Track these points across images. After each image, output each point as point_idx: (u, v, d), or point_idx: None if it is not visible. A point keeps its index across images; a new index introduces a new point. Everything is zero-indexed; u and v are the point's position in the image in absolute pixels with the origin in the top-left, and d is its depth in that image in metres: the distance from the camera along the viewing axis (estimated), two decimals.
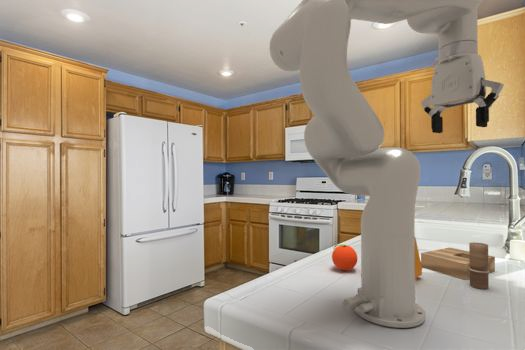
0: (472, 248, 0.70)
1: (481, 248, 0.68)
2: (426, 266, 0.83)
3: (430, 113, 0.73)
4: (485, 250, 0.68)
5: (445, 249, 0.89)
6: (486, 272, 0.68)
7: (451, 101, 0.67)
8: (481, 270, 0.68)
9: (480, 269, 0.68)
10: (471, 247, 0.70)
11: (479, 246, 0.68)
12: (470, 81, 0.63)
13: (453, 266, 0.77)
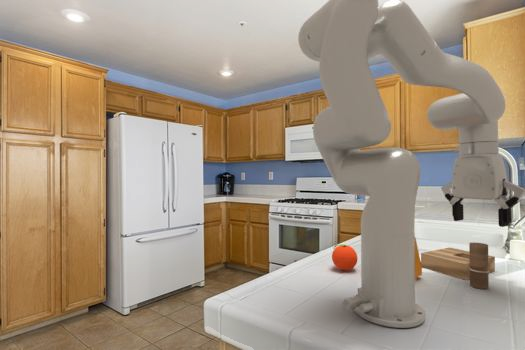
0: (472, 248, 0.70)
1: (481, 248, 0.68)
2: (426, 266, 0.83)
3: (451, 201, 0.75)
4: (485, 250, 0.68)
5: (445, 249, 0.89)
6: (486, 272, 0.68)
7: (473, 197, 0.69)
8: (481, 270, 0.68)
9: (480, 269, 0.68)
10: (471, 247, 0.70)
11: (479, 246, 0.68)
12: (492, 183, 0.65)
13: (453, 266, 0.77)
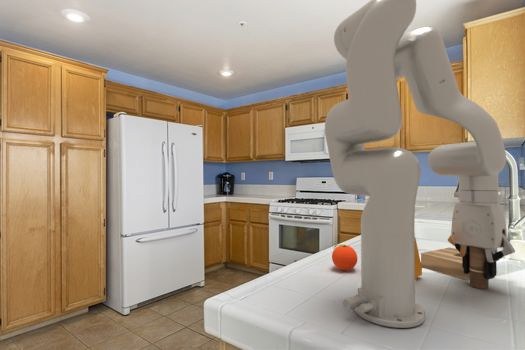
0: (472, 248, 0.70)
1: (481, 248, 0.68)
2: (426, 266, 0.83)
3: (461, 252, 0.72)
4: None
5: (445, 249, 0.89)
6: None
7: (472, 245, 0.69)
8: (481, 270, 0.68)
9: (480, 269, 0.68)
10: (471, 247, 0.70)
11: None
12: (492, 233, 0.65)
13: (453, 266, 0.77)
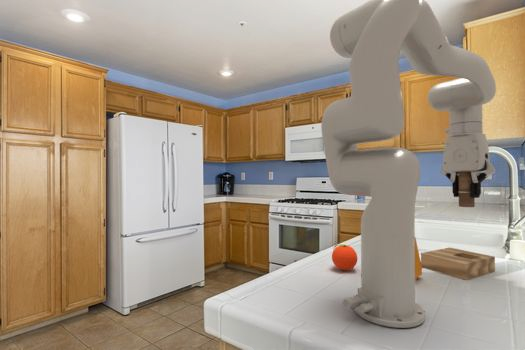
0: (460, 173, 0.81)
1: (468, 172, 0.80)
2: (426, 266, 0.83)
3: (451, 179, 0.84)
4: None
5: (445, 249, 0.89)
6: None
7: (460, 170, 0.80)
8: (468, 191, 0.80)
9: (467, 190, 0.80)
10: (460, 173, 0.82)
11: None
12: (476, 156, 0.77)
13: (453, 266, 0.77)
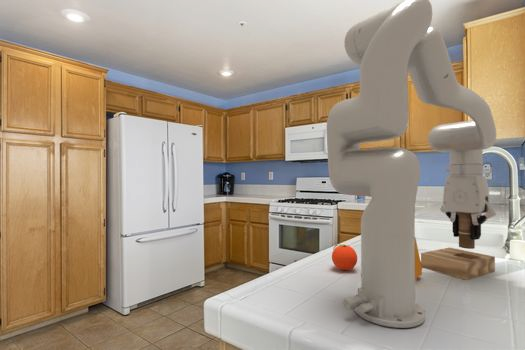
0: (460, 214, 0.81)
1: (468, 213, 0.80)
2: (426, 266, 0.83)
3: (451, 219, 0.84)
4: None
5: (445, 249, 0.89)
6: None
7: (460, 211, 0.80)
8: (468, 232, 0.80)
9: (467, 231, 0.80)
10: (460, 213, 0.82)
11: None
12: (476, 199, 0.77)
13: (453, 266, 0.77)
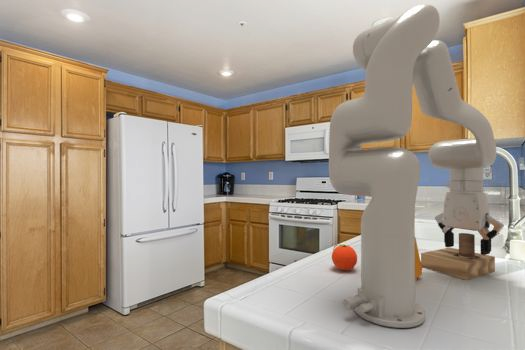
0: (460, 238, 0.81)
1: (468, 237, 0.80)
2: (426, 266, 0.83)
3: (443, 230, 0.86)
4: (471, 239, 0.80)
5: (445, 249, 0.89)
6: (472, 257, 0.80)
7: (461, 227, 0.80)
8: (468, 256, 0.80)
9: (467, 255, 0.80)
10: (460, 237, 0.81)
11: (467, 236, 0.80)
12: (477, 217, 0.77)
13: (453, 266, 0.77)
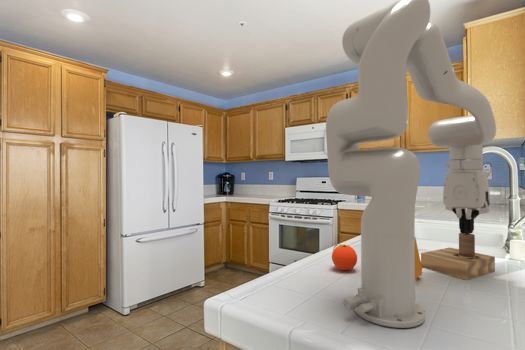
0: (461, 238, 0.81)
1: (468, 237, 0.80)
2: (426, 266, 0.83)
3: (458, 215, 0.82)
4: (471, 239, 0.80)
5: (445, 249, 0.89)
6: (472, 257, 0.80)
7: (461, 206, 0.80)
8: (468, 256, 0.80)
9: (467, 255, 0.80)
10: (460, 237, 0.81)
11: (467, 236, 0.80)
12: (477, 194, 0.77)
13: (453, 266, 0.77)
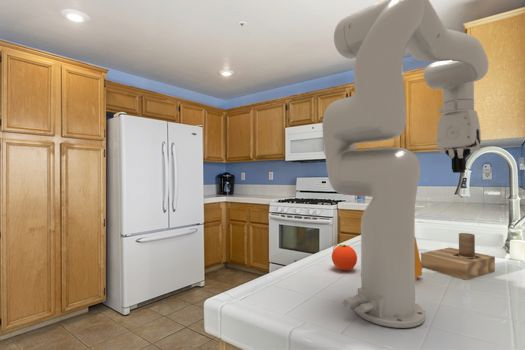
0: (461, 238, 0.81)
1: (468, 237, 0.80)
2: (426, 266, 0.83)
3: (451, 156, 0.86)
4: (471, 239, 0.80)
5: (445, 249, 0.89)
6: (472, 257, 0.80)
7: (453, 146, 0.84)
8: (468, 256, 0.80)
9: (467, 255, 0.80)
10: (460, 237, 0.81)
11: (467, 236, 0.80)
12: (468, 132, 0.81)
13: (453, 266, 0.77)
